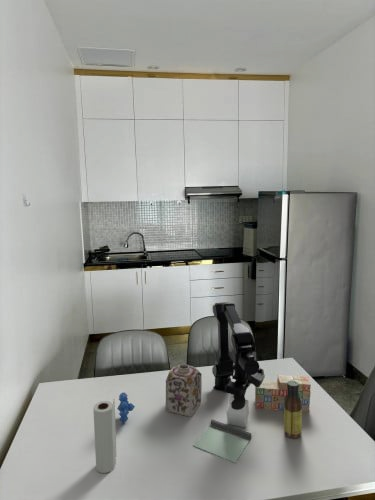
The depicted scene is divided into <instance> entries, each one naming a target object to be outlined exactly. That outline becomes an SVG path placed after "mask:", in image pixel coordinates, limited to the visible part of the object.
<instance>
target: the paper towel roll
mask: <svg viewBox="0 0 375 500" xmlns="http://www.w3.org/2000/svg"><path fill="white" fill-rule="evenodd" d="M93 426H94V428H93V429H94V450H95V451H94V452H95V455H94V456H95V469H96V471H97V472H98V473H101V474H107V473H110V472H112V470H115V469H114V468H115V466H116V464H117V462H116V461H117V437H116V436H117V434H116V433H117V432H116V429H117V428H116V403H115V399H113V400H112V402H111V401H109V400H108V401H107V400H103V401H98V402H97V403H95V404H94V405H93Z"/></svg>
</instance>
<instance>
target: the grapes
mask: <svg viewBox="0 0 375 500" xmlns="http://www.w3.org/2000/svg"><path fill="white" fill-rule="evenodd" d="M118 397H119V398H118V400H119V401H120V402H119V404H118V406H117V410H118V411H119V413H118V415H119V416H120V417H119V419H118V420H119V421H120V422H121V423H122V424H125V423H126V422H127V421H128V420H129V417H128V414H129V413H130V412H131V411H133V410H134V409H135V407H136V406H135V405H134V404H133V403H131V402H129V401H128V399H129V398H128V394H127V393H126V392H121V393H120V395H118Z"/></svg>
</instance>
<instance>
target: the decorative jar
mask: <svg viewBox="0 0 375 500" xmlns="http://www.w3.org/2000/svg"><path fill="white" fill-rule="evenodd" d="M202 383H203V382H202V373H201V372H200V371H199V370H198V369H197V368H196V367H195V366H192V365H189V364H186V363H181V364H178V365H176V366H173V367H172V368H171V369H170V370H169V371H168V374H167V376H166V380H165V411H166V412H168V413H169V412H170V413H173V414H176V415H182V416H186V417H189V418H192V417H193V416H194V414H195V413H196V411H197V410H198V408H199V407H200V405H201V404H202V392H203V391H202V386H203V385H202Z"/></svg>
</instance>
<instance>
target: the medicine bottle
mask: <svg viewBox="0 0 375 500" xmlns="http://www.w3.org/2000/svg"><path fill="white" fill-rule="evenodd" d="M249 415H250V407H249V400H248V399H246V396H244V395H243V394H242V395H241V396H236V395H233V394H229V395H228V405H227V409H226V418H227V425H230V426H234V427H235V426H237V427H240V428H245V429H246V428H247V424H248V420H249Z"/></svg>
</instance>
